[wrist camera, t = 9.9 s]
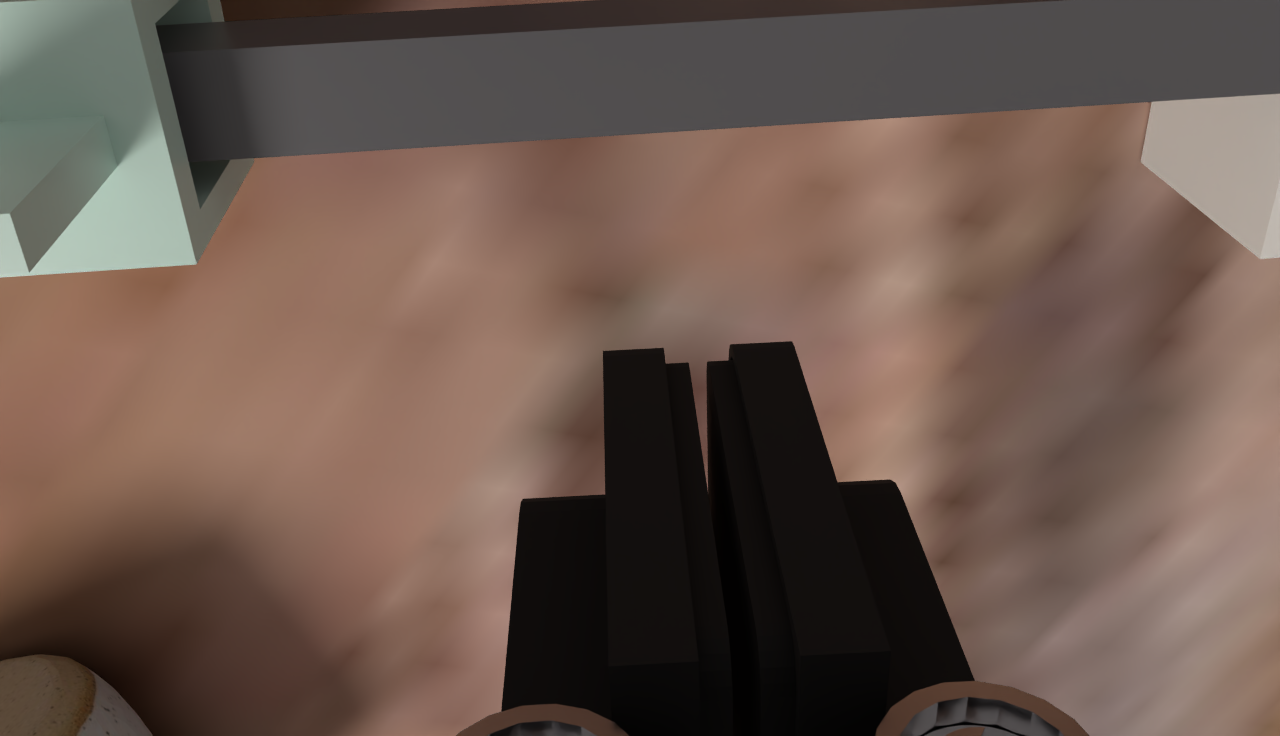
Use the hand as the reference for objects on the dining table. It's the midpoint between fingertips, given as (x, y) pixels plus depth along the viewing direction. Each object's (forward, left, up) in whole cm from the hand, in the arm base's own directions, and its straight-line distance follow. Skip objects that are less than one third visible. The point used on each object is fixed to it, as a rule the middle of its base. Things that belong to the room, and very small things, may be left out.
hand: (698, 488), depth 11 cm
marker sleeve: (+9, -1, -14) cm, 16 cm away
